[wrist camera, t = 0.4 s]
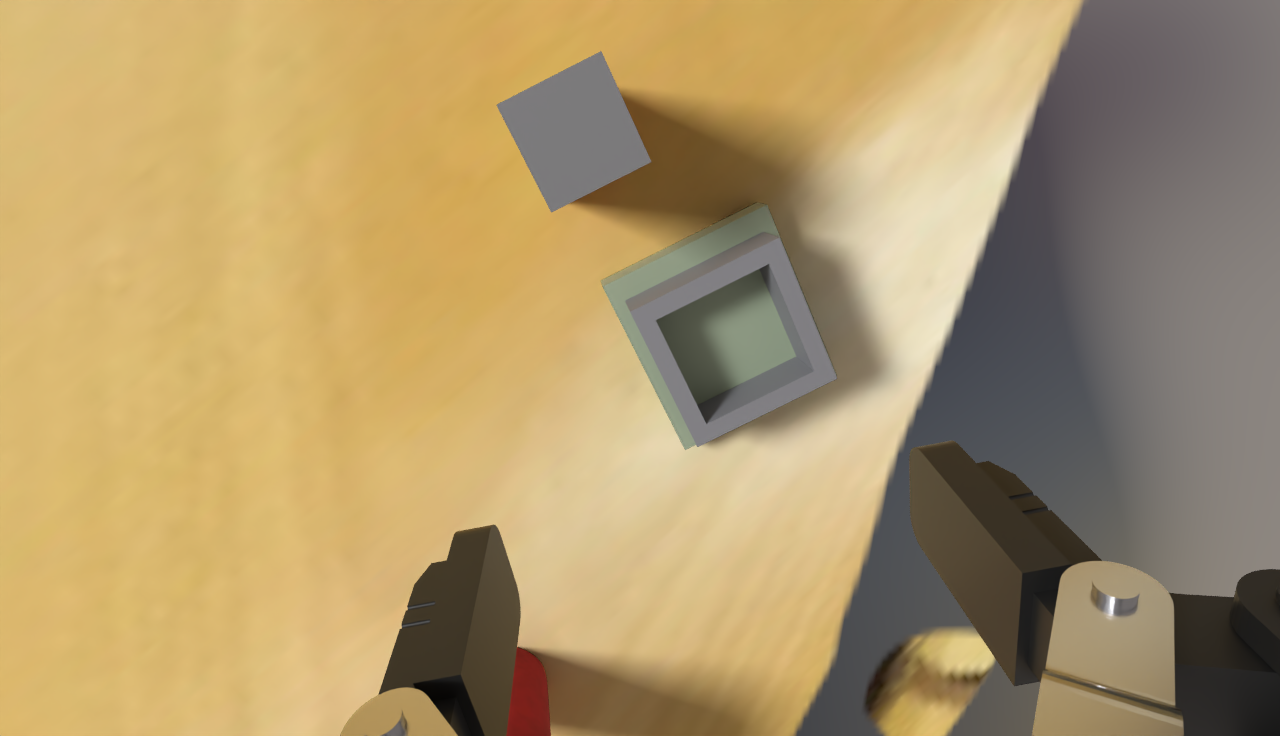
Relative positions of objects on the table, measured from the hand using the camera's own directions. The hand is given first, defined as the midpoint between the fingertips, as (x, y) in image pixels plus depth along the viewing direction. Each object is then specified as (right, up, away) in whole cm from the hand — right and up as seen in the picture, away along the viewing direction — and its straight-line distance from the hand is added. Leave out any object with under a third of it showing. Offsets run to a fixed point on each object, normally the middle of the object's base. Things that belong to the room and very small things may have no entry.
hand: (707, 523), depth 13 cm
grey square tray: (+3, +6, +28) cm, 29 cm away
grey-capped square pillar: (-5, +15, +24) cm, 29 cm away
